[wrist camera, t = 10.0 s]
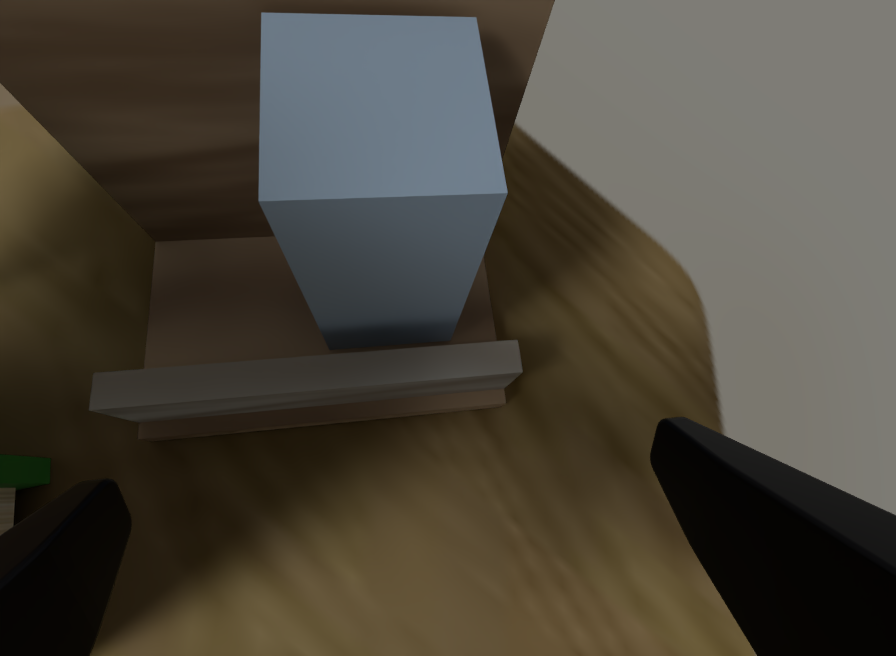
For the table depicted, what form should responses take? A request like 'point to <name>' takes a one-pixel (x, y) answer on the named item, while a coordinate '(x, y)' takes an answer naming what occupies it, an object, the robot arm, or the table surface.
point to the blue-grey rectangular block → (378, 169)
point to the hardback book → (19, 482)
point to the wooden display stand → (238, 211)
